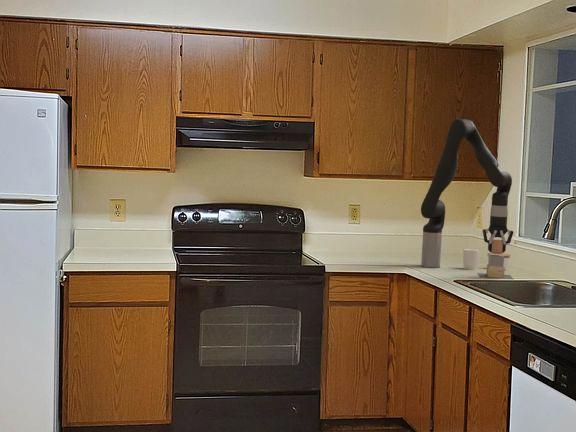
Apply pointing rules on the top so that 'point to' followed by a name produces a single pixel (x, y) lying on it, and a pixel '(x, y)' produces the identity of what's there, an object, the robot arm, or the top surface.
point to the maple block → (495, 271)
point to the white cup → (471, 259)
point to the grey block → (496, 260)
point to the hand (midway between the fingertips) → (496, 252)
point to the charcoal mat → (483, 275)
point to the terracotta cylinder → (497, 246)
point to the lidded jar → (506, 258)
